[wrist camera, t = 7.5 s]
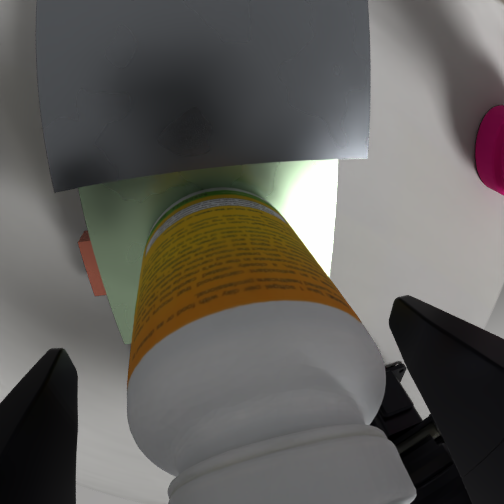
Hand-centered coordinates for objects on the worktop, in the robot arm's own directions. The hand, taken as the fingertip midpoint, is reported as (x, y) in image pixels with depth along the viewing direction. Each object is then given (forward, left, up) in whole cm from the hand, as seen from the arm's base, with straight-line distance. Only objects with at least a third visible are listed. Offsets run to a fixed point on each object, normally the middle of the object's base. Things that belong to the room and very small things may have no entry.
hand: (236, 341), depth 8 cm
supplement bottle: (0, 0, -5) cm, 5 cm away
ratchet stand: (0, 0, -8) cm, 9 cm away
